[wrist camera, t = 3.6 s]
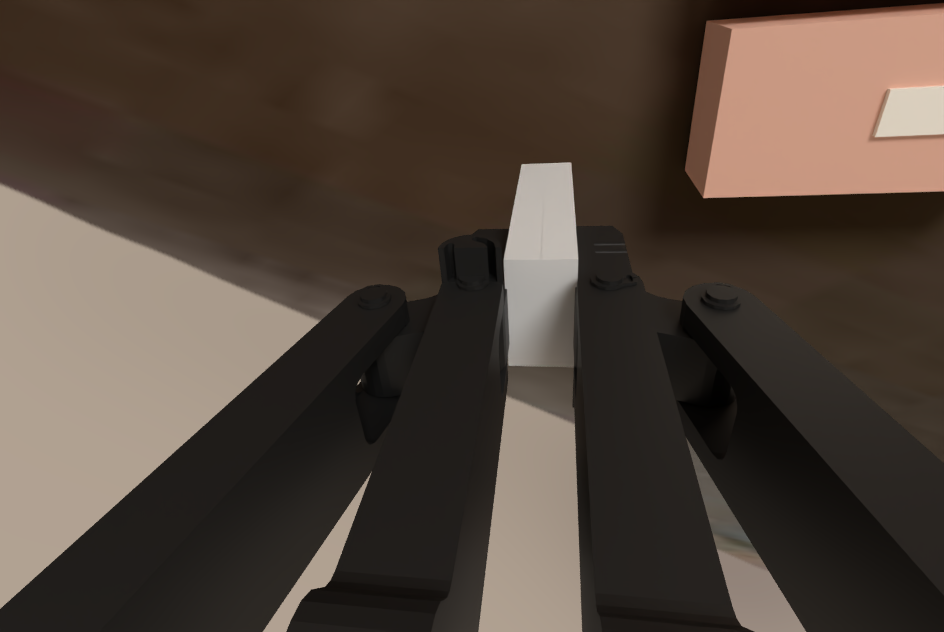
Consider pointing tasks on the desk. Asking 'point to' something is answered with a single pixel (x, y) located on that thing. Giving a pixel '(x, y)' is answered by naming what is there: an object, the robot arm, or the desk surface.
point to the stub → (820, 104)
